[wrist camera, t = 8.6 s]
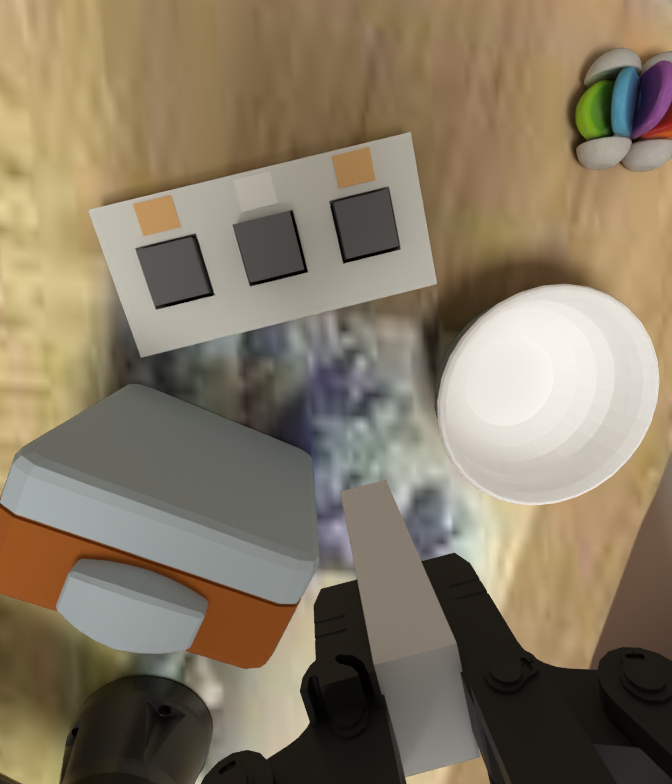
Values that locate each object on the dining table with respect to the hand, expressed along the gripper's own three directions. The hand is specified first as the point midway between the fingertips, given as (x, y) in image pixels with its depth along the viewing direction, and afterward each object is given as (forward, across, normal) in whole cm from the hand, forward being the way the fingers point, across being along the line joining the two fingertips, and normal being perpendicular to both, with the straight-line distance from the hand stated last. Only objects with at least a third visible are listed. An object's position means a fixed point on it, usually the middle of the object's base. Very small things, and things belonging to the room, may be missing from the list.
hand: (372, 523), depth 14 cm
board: (+28, -2, +11) cm, 31 cm away
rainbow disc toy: (+29, +30, +15) cm, 44 cm away
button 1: (+28, +6, +11) cm, 31 cm away
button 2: (+28, -10, +11) cm, 32 cm away
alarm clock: (+29, -13, -6) cm, 32 cm away
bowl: (+29, +17, -6) cm, 34 cm away
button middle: (+27, -2, +11) cm, 29 cm away
